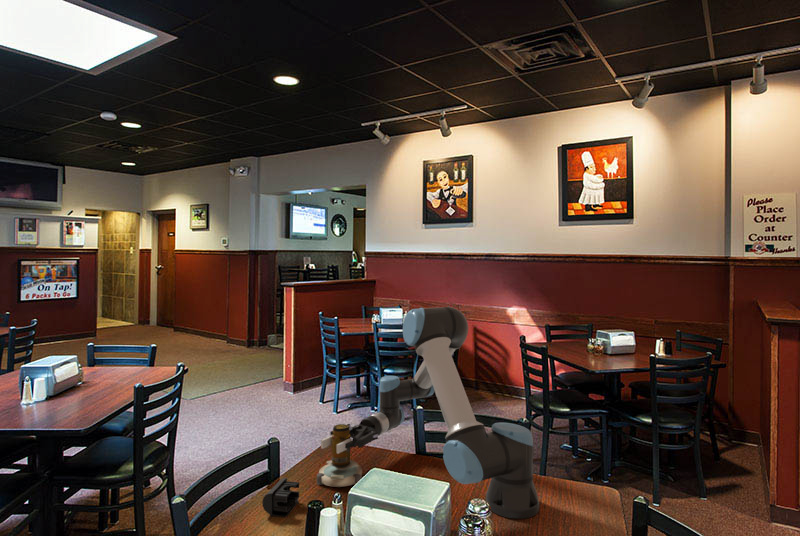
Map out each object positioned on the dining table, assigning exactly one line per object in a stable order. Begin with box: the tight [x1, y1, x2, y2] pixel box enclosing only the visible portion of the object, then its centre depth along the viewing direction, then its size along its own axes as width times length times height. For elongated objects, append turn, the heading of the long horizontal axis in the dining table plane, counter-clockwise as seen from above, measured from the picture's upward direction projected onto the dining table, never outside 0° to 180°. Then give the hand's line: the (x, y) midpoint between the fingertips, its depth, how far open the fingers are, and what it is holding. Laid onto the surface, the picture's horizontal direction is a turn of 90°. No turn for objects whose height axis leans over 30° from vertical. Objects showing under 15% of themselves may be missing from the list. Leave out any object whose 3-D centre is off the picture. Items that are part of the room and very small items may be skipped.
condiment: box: [326, 423, 359, 470], centre depth 153 cm, size 7×8×12 cm
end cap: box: [261, 477, 300, 518], centre depth 135 cm, size 10×7×7 cm
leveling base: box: [316, 463, 363, 488], centre depth 154 cm, size 14×15×4 cm
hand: (329, 446), depth 149 cm, fingers closed on condiment, 6 cm apart
